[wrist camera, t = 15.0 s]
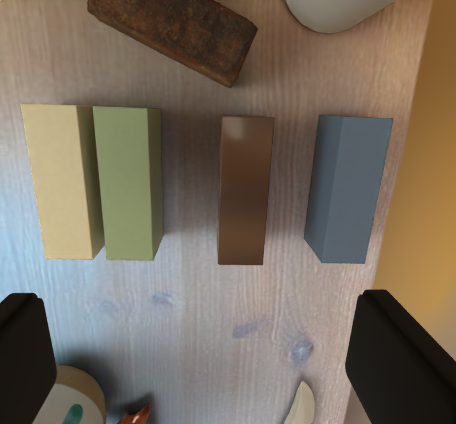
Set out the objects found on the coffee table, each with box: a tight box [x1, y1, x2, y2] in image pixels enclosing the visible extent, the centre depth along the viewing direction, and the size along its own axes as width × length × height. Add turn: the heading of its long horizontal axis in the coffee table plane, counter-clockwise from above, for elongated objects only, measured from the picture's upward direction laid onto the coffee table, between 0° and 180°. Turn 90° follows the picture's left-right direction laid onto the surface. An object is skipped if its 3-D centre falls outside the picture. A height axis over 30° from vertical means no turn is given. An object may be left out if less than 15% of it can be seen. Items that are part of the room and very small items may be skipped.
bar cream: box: [21, 103, 105, 260], centre depth 24 cm, size 11×4×5 cm, turn 178°
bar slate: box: [304, 115, 393, 264], centre depth 25 cm, size 11×4×5 cm, turn 178°
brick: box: [87, 0, 258, 88], centre depth 21 cm, size 11×4×5 cm, turn 64°
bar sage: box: [93, 106, 163, 261], centre depth 24 cm, size 11×4×5 cm, turn 178°
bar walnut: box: [217, 115, 274, 265], centre depth 24 cm, size 11×4×5 cm, turn 178°
